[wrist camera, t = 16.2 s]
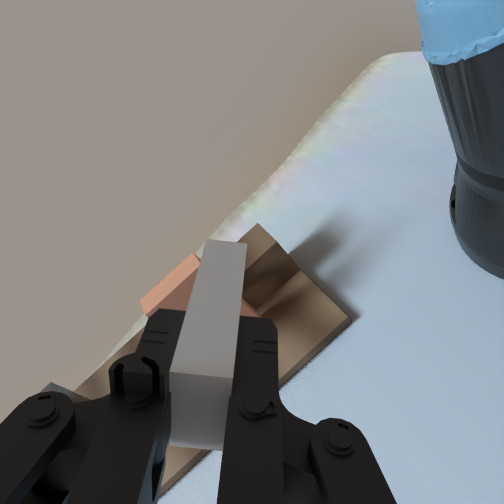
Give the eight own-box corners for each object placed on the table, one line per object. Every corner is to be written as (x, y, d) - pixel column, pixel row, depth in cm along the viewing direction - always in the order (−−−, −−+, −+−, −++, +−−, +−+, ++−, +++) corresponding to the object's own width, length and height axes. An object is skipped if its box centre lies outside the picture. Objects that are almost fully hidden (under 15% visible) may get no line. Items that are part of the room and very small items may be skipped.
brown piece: (285, 255, 47) (257, 222, 44) (351, 321, 38) (324, 288, 34) (58, 462, 48) (10, 448, 44) (71, 577, 39) (12, 572, 35)
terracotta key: (259, 313, 43) (192, 252, 36) (268, 325, 41) (201, 264, 34) (214, 354, 43) (139, 301, 36) (222, 367, 41) (145, 315, 34)
